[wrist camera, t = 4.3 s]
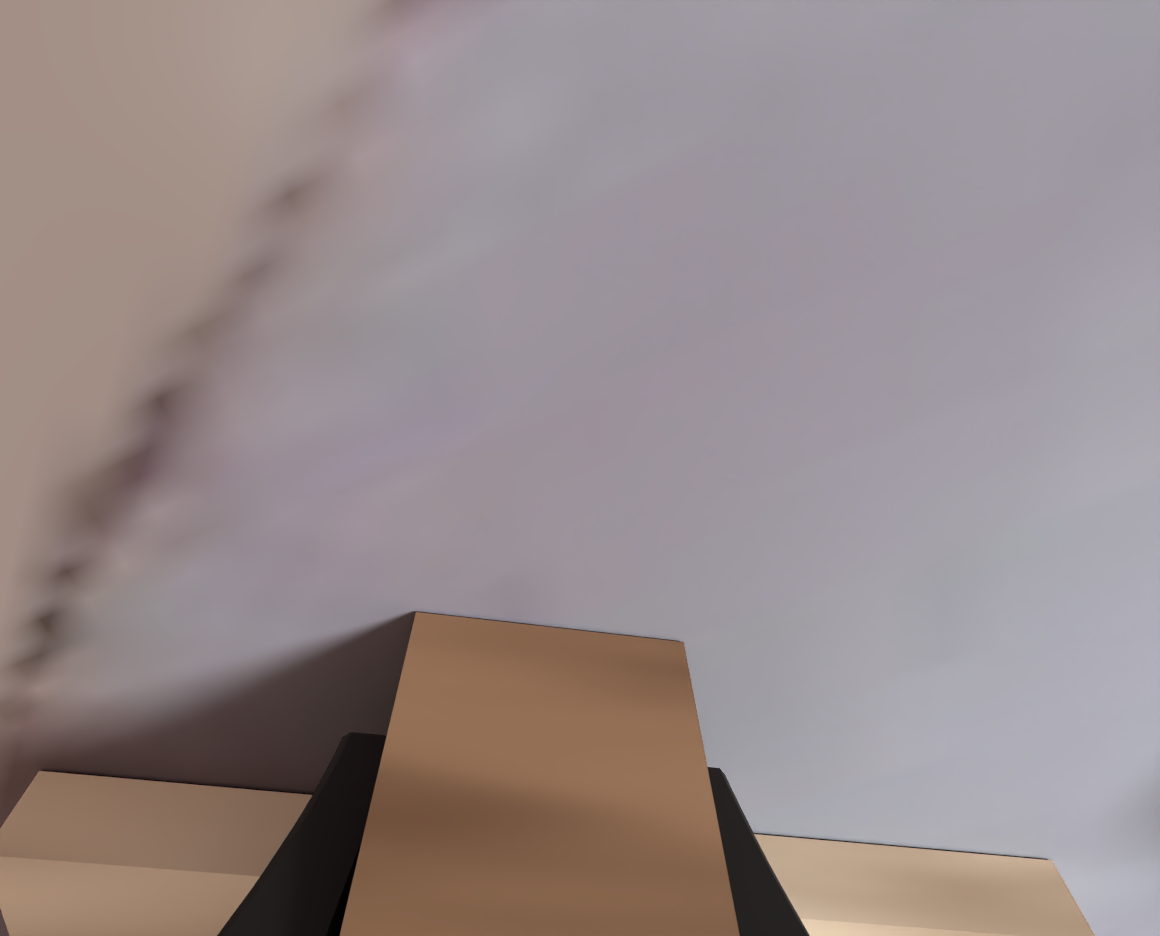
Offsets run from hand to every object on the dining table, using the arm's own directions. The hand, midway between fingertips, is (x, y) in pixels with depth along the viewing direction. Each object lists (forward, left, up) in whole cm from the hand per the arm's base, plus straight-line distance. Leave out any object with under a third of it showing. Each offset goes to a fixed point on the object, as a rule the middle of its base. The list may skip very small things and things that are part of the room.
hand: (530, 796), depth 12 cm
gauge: (-4, 0, -1) cm, 4 cm away
